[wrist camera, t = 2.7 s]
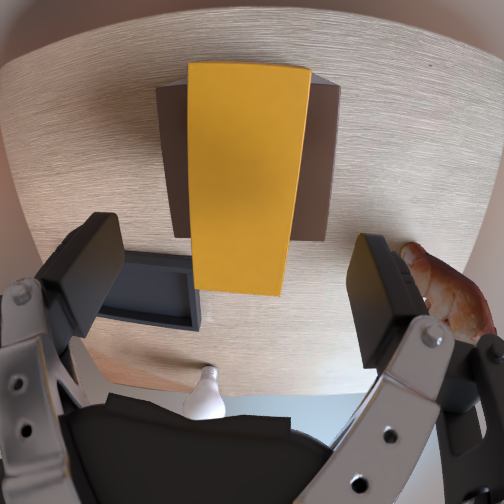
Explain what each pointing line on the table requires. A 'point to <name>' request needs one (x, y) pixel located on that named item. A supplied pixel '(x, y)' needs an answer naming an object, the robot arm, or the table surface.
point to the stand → (311, 168)
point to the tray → (154, 292)
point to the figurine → (449, 295)
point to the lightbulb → (205, 398)
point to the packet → (243, 170)
